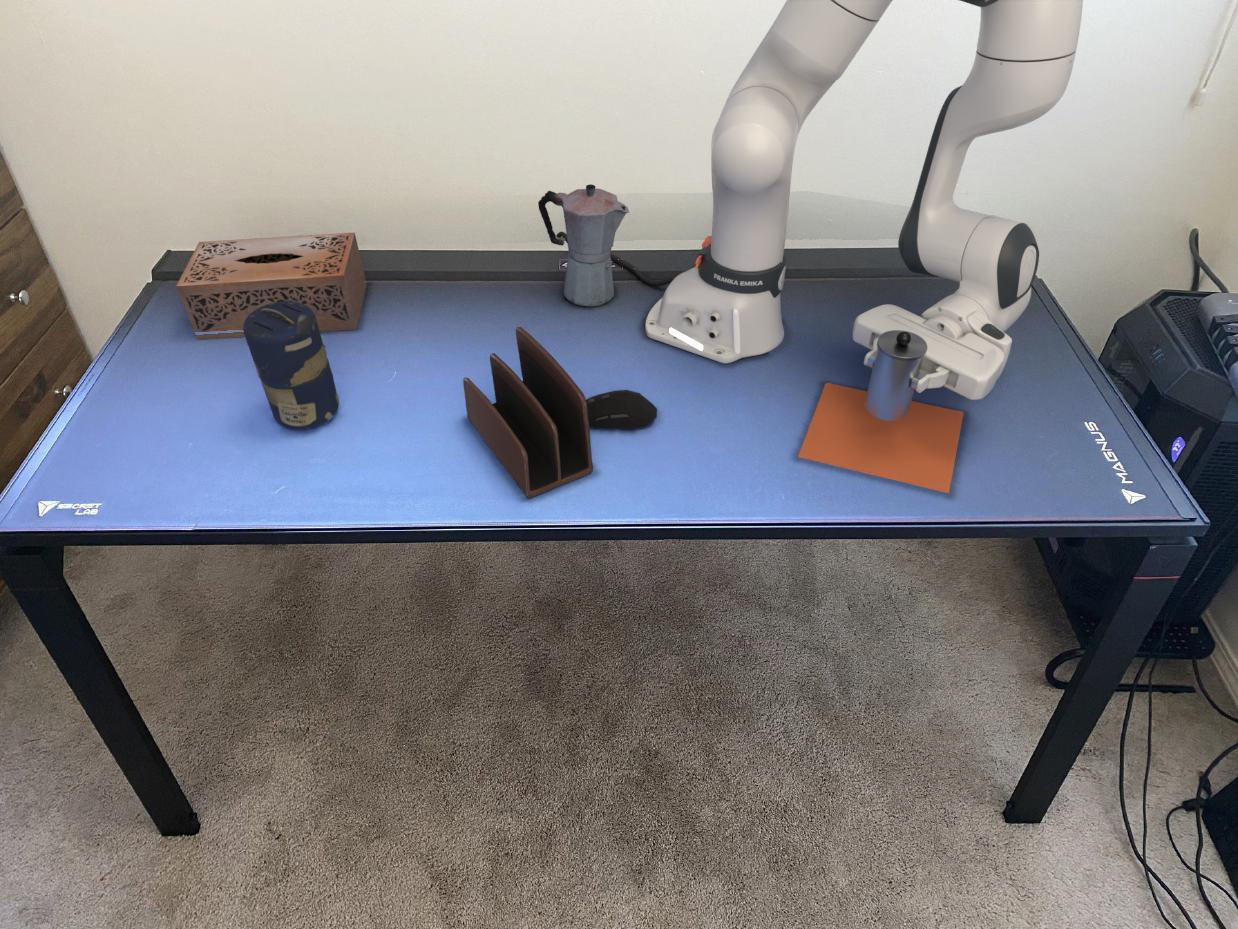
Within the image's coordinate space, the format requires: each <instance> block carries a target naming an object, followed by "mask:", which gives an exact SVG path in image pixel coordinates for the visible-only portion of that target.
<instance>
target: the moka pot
mask: <svg viewBox="0 0 1238 929" xmlns="http://www.w3.org/2000/svg"><path fill="white" fill-rule="evenodd" d="M550 202H551V203H552V204H554V205H555V206H557V207H558V206H559V207H561V208H562V210H563V218H564V225H565V233H566V234H567V241H568V244H567V250H568V253H567V259H566V260H567V261H566V269H565V276H564V281H563V282H564V283H563V296H564V297H565V299H567V301H569V302H571V303H573V304H575V305H578V306H582V307H597V306H602V305H604V304H606V303H608V302H610V301H611V300H612V298H613V297H614V296H615V289H614V280H613V279H614V278H613V269H612V268H613V267H612V260H611V258H610V254H612V248H613V247H614V242H615V237H616V232H617V231H618V229H619V227H620V226H621V223H622V221H623V219H624V218H625V216H626V215H627V214H629V213H630V209H629V206H626V204H625V203H622V202H620V201H619V200H618V196H617V194H614V193H612V192H609V191H607V190H604V189H603V188H596V185H594V184H591V183H590V184H586V186H585V188H577V189H576V190H573V191H571V192H569V193H565V192H558V193H557V192H555V191H552V190H547V192H545V193H544V195H542V197H541V198H540V200H538V201H537V205H538V211H539V213H540V215H541V216H540V217H541V219H542V220H543V224H544V226H545V229H546V232H547V235H548V238H549V241H550V243H551V244H553V245H558V246H565V245H564V244H565V243H566V241H565V240H564V239H560V238H558V237H556V235H557V234H556V233H555V231H554V230H553V224H552V220H551V218H550V216H549V212H548V209H547V207H546V205H547V204H548V203H550Z"/></svg>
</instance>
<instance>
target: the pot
mask: <svg viewBox="0 0 1238 929" xmlns="http://www.w3.org/2000/svg"><path fill="white" fill-rule="evenodd" d="M877 347H878V348H877V353H876V357H875V361H874V366H873V369H872V371H871V375H870V380H869V383H868V388H867V391H868V392H867V397H866V401H865V408H866V410H867V412H868V413H869V414H870V415H872V416H873V417H875V418H877V419H880V420H884V421H898V420H901V419H903V418H905V417H906V416H907V414H908V412H909V408H910V405H911V401H913V396H914V393H915V390H913V389H911V388H910V385H911V380H912V378H913V377H915V376H917V374H918V373H919V371H920V368H921V364H922V360H923V357H924V355H925V354H926V352H927V343H926V342H925V340H924V339H923V338H921V337H920V336H918V335H916V334H914V333H912V332H908V331H903V330H892V331H887V332H885V333H883V334H881V335H880V336H879V338H878V341H877Z"/></svg>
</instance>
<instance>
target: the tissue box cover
mask: <svg viewBox="0 0 1238 929" xmlns="http://www.w3.org/2000/svg"><path fill="white" fill-rule="evenodd" d="M356 236H357V235H356V232H342V233H341V232H340V233H339V232H338V233H325V234H307V235H292V236H291V235H290V236H289V235H288V236H278V237H277V236H276V237H275V236H274V237H259V238H258V237H257V238H256V237H255V238H243V239H242V238H241V239H224V240H208V241H207V240H205V241H199V242H198V244H197V245H196V247H195V248H194V251H193V253H192V255H191V257H190V259H189V261H188V263H187V264H186V267H185V268H184V270H183V272H182V274H181V275H180V277H179V279H178V282H177V284H176V285H175V288H176V290H177V292H178V295H179V297H180V300H181V302H182V305H183V308H184V311H185V312H186V315H187V317H188V320H189V323H190V325H191V327H192V330H193V333H194V332H209V331H210V332H211V331H227V330H243V325H244V321H245V319H246V318H247V317H248V315H249V314H250V313H252V312H253V311H254V310H256V309H258V308H260V307H262V306H264V305H267V304H270V303H274V302H281V301H293V302H298V303H302V304H304V305H306V306H308V307H309V308H310V309H311V310H312V311H313V312H314V314H315V317H316V320H317V324H318V328H319V331H320V333H322V332H336V331H337V332H338V331H351V330H354V331H355V330H358V328H359V327H358V326H359V321H360V318H361V312H362V308H363V303H364V299H365V294H366V289H367V285H368V283H367V279H366V274H365V270H364V267H363V261H362V258H361V253H360V248H359V246H358V241H357V237H356ZM365 279H366V280H365ZM364 281H365V285H364ZM363 288H364V289H363ZM362 292H363V294H362ZM361 297H362V298H361ZM195 337H196V340H197V341H203V340H219V339H231V338H232V339H233V338H245V335H244V332H233V333H218V334H203V335H195Z"/></svg>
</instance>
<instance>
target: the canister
mask: <svg viewBox="0 0 1238 929" xmlns="http://www.w3.org/2000/svg"><path fill="white" fill-rule="evenodd" d="M243 331H244V335H245V337H244V338H245V341H246V344H247V346H248V349H249V352H250V355H251V358H252V361H253V363H254V367H255V370H256V372H257V375H258V378H259V380H260V382H261V385H262V389H263V391H264V394H265V397H266V399H267V402H268V405H269V408H270V411H271V414H272V416H273V418H274V419H275V421H276V423H277V424H278V425H280V426H281V427H283V428H285V429H288V430H292V431H307V430H312V429H315V428H318V427H321V426H323V425H324V424H326V423H327V422H330V420H332V419H333V418H334V417H335V415H336V414H337V413H338V410H339V407H340V398H339V395H338V392H337V388H336V384H335V379H334V374H333V372H332V368H331V365H330V360H329V358H328V352H327V351H326V345H325V344H324V342H323V338H322V335H321V332H320V331H319V328H318V324H317V320H316V317H315V314H314V312H313V311H312V310H311V309H310V308H309V307H308V306H306V305H304V304H302V303H298V302H293V301H281V302H274V303H270V304H267V305H264V306H262V307H260V308H258V309H256V310H254V311H253V312H252V313H250V314H249V315H248V317H247V318H246V319H245V321H244V325H243Z"/></svg>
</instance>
